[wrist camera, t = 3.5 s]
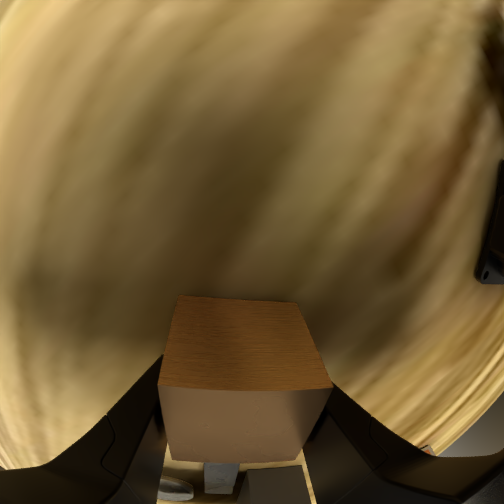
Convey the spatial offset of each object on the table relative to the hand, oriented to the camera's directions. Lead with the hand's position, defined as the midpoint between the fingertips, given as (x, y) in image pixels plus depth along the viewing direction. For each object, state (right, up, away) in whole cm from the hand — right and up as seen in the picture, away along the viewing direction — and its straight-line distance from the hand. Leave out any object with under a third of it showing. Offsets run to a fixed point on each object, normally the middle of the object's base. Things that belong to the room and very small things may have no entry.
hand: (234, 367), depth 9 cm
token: (-7, -15, +7) cm, 18 cm away
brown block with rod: (-1, -6, +3) cm, 7 cm away
